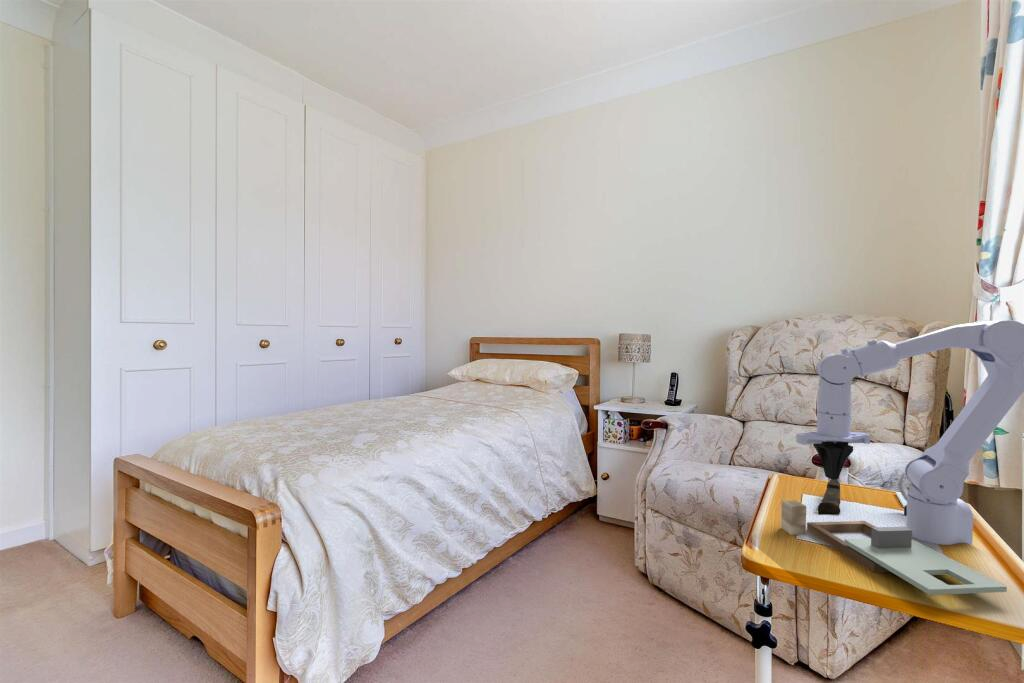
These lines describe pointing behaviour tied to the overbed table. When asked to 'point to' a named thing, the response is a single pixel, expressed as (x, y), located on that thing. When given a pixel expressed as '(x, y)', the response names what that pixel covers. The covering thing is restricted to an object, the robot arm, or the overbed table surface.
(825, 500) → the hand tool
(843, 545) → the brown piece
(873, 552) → the lid
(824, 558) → the overbed table surface
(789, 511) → the block
